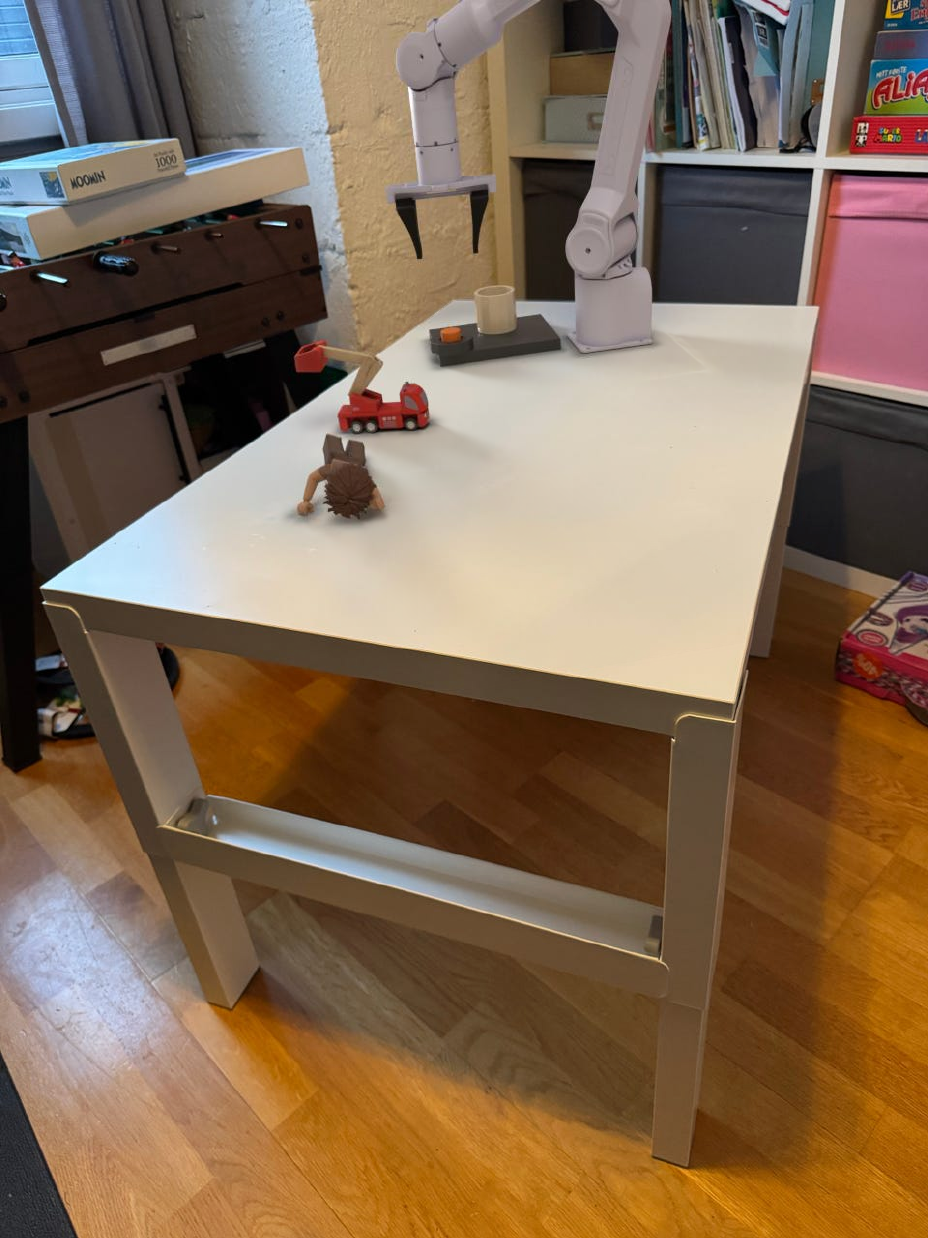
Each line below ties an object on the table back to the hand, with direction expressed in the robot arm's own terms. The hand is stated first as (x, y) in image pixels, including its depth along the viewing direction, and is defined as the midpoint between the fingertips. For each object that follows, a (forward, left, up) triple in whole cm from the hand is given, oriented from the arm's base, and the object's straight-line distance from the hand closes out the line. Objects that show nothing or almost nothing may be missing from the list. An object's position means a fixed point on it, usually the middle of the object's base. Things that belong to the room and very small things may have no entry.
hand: (447, 254), depth 121 cm
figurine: (+18, +48, -11) cm, 52 cm away
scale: (-4, +9, -10) cm, 14 cm away
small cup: (-5, +7, -9) cm, 12 cm away
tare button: (+2, +13, -8) cm, 15 cm away
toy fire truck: (+14, +32, -11) cm, 36 cm away
